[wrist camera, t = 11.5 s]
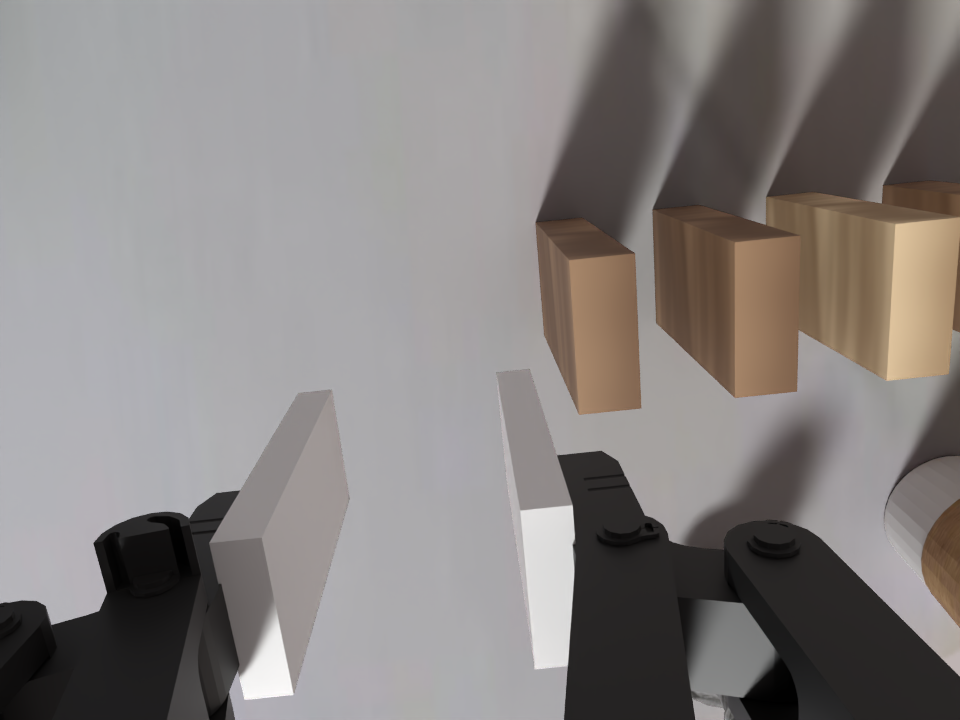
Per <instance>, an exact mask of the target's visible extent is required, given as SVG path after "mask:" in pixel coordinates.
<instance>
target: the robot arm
mask: <svg viewBox="0 0 960 720" xmlns="http://www.w3.org/2000/svg"><path fill="white" fill-rule="evenodd" d="M496 376H497V386H498V396H499V407H500V417H501V427H502V437H503V448H504V458H505V468H506V479H507V486H508V493H509V500H510V506H511V513H512V520H513V526H514V533H515V540H516V546H517V553H518V560H519V566H520V573H521V580H522V586H523V593H524V600H525V606H526V613H527V620H528V626H529V633H530V640H531V646H532V653H533V660H534V666H535V669H544V668H553V667H563V666H568V671H567V686H566V700H565V714H564V720H695V715H694V708H693V701H692V694H691V691H697V692H705V693H712V694H719V695H725V696H726V700H727V704H728V707H729V709H730V711H731V713H732V715H733V716H734V718H735V720H960V676H958V674H956V673H955V671H953V670H952V669H951V667H950V666H948V665H947V664H946V663H945V662H944V661H943V660H942V659H941V658H940V657H939V656H938V655H937V654H936V653H935V652H934V651H933V650H932V649H931V648H930V647H929V646H928V645H927V644H926V643H925V642H924V641H923V640H922V639H921V638H920V637H919V636H918V635H917V634H916V633H915V632H914V631H913V630H912V629H911V628H910V627H909V626H908V625H907V624H906V623H905V622H904V621H903V620H902V619H901V618H900V617H899V616H898V615H897V614H896V613H895V612H894V611H893V610H892V609H891V608H890V607H889V606H888V605H887V604H886V603H885V602H884V601H883V600H882V599H881V598H880V597H879V596H878V595H877V594H876V593H875V592H874V591H873V590H872V589H871V588H870V587H869V586H868V585H867V584H866V583H865V582H864V581H863V580H862V579H861V578H860V577H859V576H858V575H857V574H856V573H855V572H854V571H853V570H852V569H851V568H850V567H849V566H848V565H847V564H846V563H845V562H844V561H843V560H842V559H841V558H840V557H839V556H838V555H837V554H836V553H835V552H834V551H833V550H832V549H831V548H830V547H829V546H828V545H827V544H825V543H824V542H823V541H822V540H821V539H820V538H819V537H818V536H816V535H815V534H813V533H812V532H810V531H809V530H807V529H805V528H802V527H799V526H796V525H793V524H791V523H788V522H783V521H780V522H778V521H776V520H766V521H753V522H749V523H745V524H741V525H738V526H736V527H735V528H733V529H732V530H730V531H729V532H728V533H727V535H726V537H725V540H724V550H717V549H704V548H695V547H688V546H684V545H680V544H677V543H673V542H671V541H669V538H668V533H667V531H666V529H665V527H664V526H663V525H662V524H661V523H659V522H658V521H656V520H655V519H653V518H651V517H648V516H645V515H644V513H643V511H642V509H641V507H640V505H639V503H638V501H637V499H636V497H635V495H634V493H633V491H632V489H631V487H630V485H629V482H628V480H627V478H626V476H624V472H623V470H622V468H621V466H620V464H619V462H618V461H617V460H615V459H614V458H612V457H611V456H609V455H607V454H606V453H604V452H602V451H596V452H586V453H576V454H567V455H557V454H556V451H555V448H554V445H553V441H552V438H551V435H550V432H549V429H548V426H547V422H546V419H545V416H544V413H543V410H542V407H541V404H540V400H539V397H538V394H537V391H536V388H535V385H534V381H533V378H532V375H531V372H530V369H525V370H516V371H506V372H496ZM349 499H350V498H349V492H348V486H347V480H346V473H345V467H344V461H343V455H342V449H341V443H340V437H339V431H338V425H337V418H336V412H335V406H334V400H333V394H332V390H323V391H314V392H304V393H298V395H297V396H296V398H295V400H294V401H293V403H292V405H291V406H290V408H289V410H288V411H287V413H286V415H285V416H284V418H283V420H282V421H281V423H280V425H279V426H278V428H277V430H276V432H275V433H274V435H273V437H272V438H271V440H270V442H269V443H268V445H267V447H266V448H265V450H264V452H263V453H262V455H261V457H260V458H259V460H258V462H257V463H256V465H255V467H254V469H253V470H252V472H251V474H250V475H249V477H248V479H247V480H246V482H245V484H244V485H243V487H242V489H241V490H240V491H231V492H222V493H216V494H215V495H213V496H212V497H210V498H209V499H208V500H206V501H205V502H203V503H202V504H201V505H199V506H198V507H197V508H196V509H195V511H194V512H193V514H192V515H191V517H190V518H188V517H186V516H184V515H183V514H181V513H174V512H159V513H150V514H146V515H142V516H139V517H135V518H131V519H129V520H127V521H124V522H122V523H119V524H117V525H115V526H113V527H112V528H110V529H109V530H107V531H105V532H104V533H102V534H101V535H100V536H99V537H98V539H97V540H96V541H95V542H94V547H95V550H96V554H97V558H98V561H99V565H100V569H101V572H102V576H103V579H104V583H105V587H106V590H107V595H106V597H105V599H104V602H103V604H102V606H101V609H100V611H98V612H95V613H92V614H89V615H86V616H83V617H79V618H75V619H72V620H68V621H65V622H61V623H57V624H54V625H51V622H50V619H49V616H48V612H47V609H46V606H45V605H43V604H41V603H39V602H37V601H16V602H11V603H1V604H0V720H235V717H234V712H233V707H232V703H231V699H230V694H229V690H230V688H231V685H232V683H233V680H234V678H235V675H236V673H237V670H238V673H239V677H240V682H241V686H242V690H243V695H244V699H245V700H249V699H258V698H268V697H277V696H287V695H294V692H295V689H296V685H297V681H298V678H299V674H300V671H301V667H302V664H303V660H304V657H305V653H306V650H307V646H308V643H309V639H310V636H311V632H312V629H313V625H314V622H315V618H316V615H317V611H318V608H319V604H320V601H321V597H322V594H323V590H324V587H325V583H326V580H327V576H328V573H329V569H330V566H331V562H332V559H333V555H334V552H335V548H336V545H337V541H338V537H339V534H340V530H341V527H342V523H343V520H344V516H345V513H346V509H347V506H348V502H349Z"/></svg>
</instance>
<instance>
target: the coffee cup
mask: <svg viewBox="0 0 960 720" xmlns="http://www.w3.org/2000/svg"><path fill="white" fill-rule="evenodd" d="M884 523H885V531H886V534H887V537H888V540H889V541H890V543H891V545H892V546H893V548H894V549H895V550H896V552H897V553H898V554H899V555H900V556H901V557H902V559H903V560H904V561H905V562H906V563H907V564H908V566H909V567H910V568H911V569H912V570H913V571H914V572H915V574H916V575H917V576H918V577H919V578H920V579H921V580H922V581H923V583H924V584H925V585H926V586H927V587H928V588H929V590H930V592H931V593H932V595H933V596H934V597H935V598H936V599H937V601H938V602H939V603H940V604H941V606H942V607H943V608H944V609H945V610H946V612H947V613H948V614H949V615H950V616H951V618H952V619H953V620H954V621H955V623H956V624H957V625H958V626H959V627H960V456H946V457H941V458H937V459H933V460H931V461H928V462H926V463H923V464H921V465H920V466H918V467H917V468H915V469H913V470H912V471H911V472H910V473H908V474H907V475H906V476H905V477H904V478H903V479H902V480H901V481H900V482H899V483H898V485H897V486H896V487H895V489H894V490H893V492H892V494H891V495H890V497H889V500H888V503H887V506H886V509H885V516H884Z"/></svg>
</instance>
